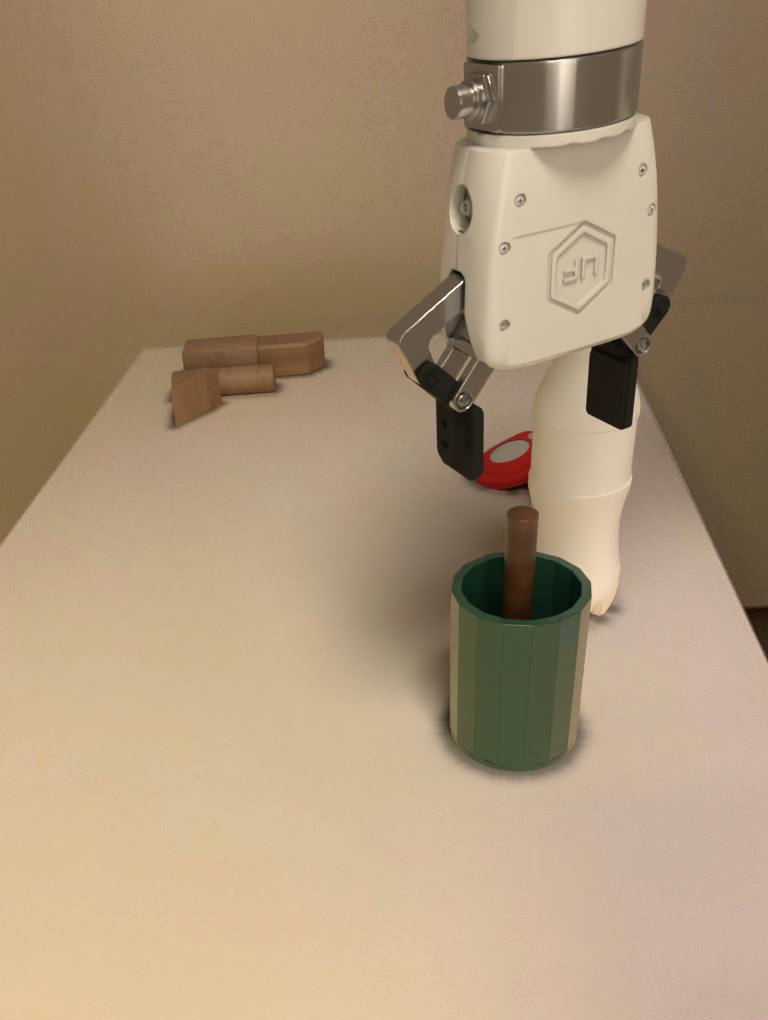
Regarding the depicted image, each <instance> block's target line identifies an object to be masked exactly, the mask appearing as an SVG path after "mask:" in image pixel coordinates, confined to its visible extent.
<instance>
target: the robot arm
mask: <svg viewBox="0 0 768 1020" xmlns="http://www.w3.org/2000/svg"><path fill="white" fill-rule="evenodd" d="M647 5H648V0H465V54H466V56H465V62H464V63H463V80H462V81H461V82H460V83H459V84H457V85H450V86H449V87H448V88H447V89H446V91H445V94H444V98H443V100H444V101H443V105H444V111H445V114H446V116H447V117H448V119H449V120H450V121H454V122H455V121H459V120H462V119H463V124H464V128H465V137H462V138H459V139H456V141H455V143H454V149H453V154H452V158H451V163H450V168H449V169H450V170H449V176H448V182H447V189H446V194H445V195H446V196H445V204H444V212H443V221H442V222H443V223H442V233H441V247H440V248H441V249H440V250H441V252H440V269H439V276H440V277H439V284H438V285H437V286H435V288H434V289H433V290H432V291H431V292H429V293H428V294H427V295H426V296H425V297H423V299H421V300H420V301H419V302H418V303H417V304H416V305H415V306H414V307H412V308H411V309H410V310H409V311H408V312H407V313H406V314H405V315H403V316H402V317H401V318H400V319H399V320H398V321H397V322H396V323H394V325H392V326H391V327H390V328H389V329H388V331H387V333H386V342H387V344H388V346H389V348H390V349H391V351H392V352H393V353H392V354H394V356H395V357H396V360H397V361H398V362H399V365H400V366H402V368H403V372H404V375H405V377H407V378H408V379H409V380H410V381H412V383H414V384H415V385H417V386H418V387H419V388H421V389H422V390H423V391H424V392H426V394H427V395H429V396H430V397H432V398H434V399H435V420H436V421H435V424H436V449H437V454H438V456H439V458H440V459H441V461H442V462H443V464H444V465H446V466H447V467H449V468H450V469H452V470H453V471H455V472H457V473H458V474H459V475H461V476H462V477H463V478H465V479H467V480H468V481H469V482H472V481H476V479H478V478H480V477H481V475H482V474H483V471H484V452H485V450H484V449H485V447H484V446H485V413H484V410H483V408H482V407H481V406H479V405H477V404H475V401H476V400H477V398H478V397H479V395H480V393H481V391H482V390H483V388H484V387H485V385H486V383H487V382H488V380H489V378H490V377H491V375H492V374H493V371H494V370H496V371H503V372H505V371H506V372H507V371H515V370H519V369H523V368H527V367H531V366H534V365H537V364H540V363H543V362H547V361H551V360H554V359H555V358H558V357H561V356H564V355H568V354H571V353H574V352H577V351H581V350H584V349H587V348H590V347H591V351H590V355H589V369H588V383H587V397H586V412H587V413H588V414H589V415H591V416H593V417H595V418H597V419H599V420H601V421H603V422H605V423H607V424H609V425H611V426H613V427H615V428H617V429H619V430H623V429H626V428H629V427H631V426H632V421H633V412H634V402H635V392H636V383H638V382H637V381H638V372H639V361H640V359H639V357H643V356H645V355H646V354H647V353H648V352H649V351H650V349H651V347H652V345H653V344H652V343H653V339H652V334H653V333H654V332H655V330H656V329H657V328H658V326H659V325H660V324H661V322H662V321H663V320H664V318H665V317H666V316H667V314H668V312H669V311H670V308H671V300H670V297H671V296H673V295H674V293H675V291H676V288H677V287H678V284H679V282H680V280H681V278H682V276H683V274H684V272H685V270H686V267H687V264H688V259H687V256H686V255H684V254H683V253H681V252H680V253H679V252H677V251H676V250H672V249H671V248H669V247H666V246H664V245H661V244H658V213H659V211H658V209H659V208H658V205H659V204H658V202H659V201H658V199H659V198H658V196H659V195H658V174H657V173H658V171H657V159H656V149H655V140H654V133H653V127H652V121H651V117H650V116H649V115H646V114H643V113H638V109H639V99H640V86H641V74H642V63H643V54H644V53H643V52H644V38H645V27H646V17H647ZM440 331H441V334H442V338H443V341H444V343H445V344H446V347H445V348H444V350H443V352H442V353H441V355H440V357H439V358H438V360H437V361H436V362H435V360H434V359H433V355H432V353H431V351H430V349H429V348H430V342H431V340H432V339H433V338H434V337H435V336H436V335H437V334H438V333H440ZM469 358H470V359H469ZM468 359H469V361H468V362H467V360H468ZM466 363H467V364H466ZM465 364H466V366H465ZM464 366H465V368H464ZM463 368H464V369H463ZM462 370H463V371H462ZM461 371H462V373H461ZM460 373H461V375H460V376H459V374H460ZM458 376H459V377H458ZM457 378H458V379H457Z"/></svg>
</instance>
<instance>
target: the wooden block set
mask: <svg viewBox="0 0 768 1020" xmlns="http://www.w3.org/2000/svg"><path fill="white" fill-rule="evenodd" d="M324 339H325V338H324V333H323V332H322V331H318V330H317V331H316V330H315V331H305V332H293V333H292V332H291V333H281V334H280V333H279V334H266V335H259V334H256V333H255V334H243V335H231V336H230V335H229V336H216V337H206V338H204V337H203V338H192V339H187V340H185V342H184V346H183V349H182V352H181V359H182V364H183V370H174V371H173V372H172V373H171V378H170V379H171V387H170V391H169V392H170V398H171V405H172V411H173V416H174V422H175V427H178V426H181V425H182V424H183V425H184V424H185V423H188V422H189V421H191V420H193V419H196V418H198V417H200V416H201V415H203V414H206V413H208V412H210V411H212V410H214V409H216V408H218V407H219V406H221V405H222V404H223V403H222V397H223V396H234V395H248V394H261V393H263V394H264V393H273V392H275V391H276V390H277V389H276V388H277V381H276V379H277V378H278V377H290V376H303V375H309V374H311V373H313V372H316V371H318V370H320V369H322V368H324V367H325V365H326V355H325V340H324Z"/></svg>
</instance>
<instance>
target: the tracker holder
mask: <svg viewBox="0 0 768 1020" xmlns="http://www.w3.org/2000/svg"><path fill="white" fill-rule="evenodd" d="M532 438H533V430H525V431H521V432H518V433H517V434H514V435H513V436H510V437H508V438H506V439H505V440H503V441H500V442H499V443H497V444H495V445H494V446H492V447H490V448H488V449H487V450H486V451H484V471H483V474H482V475H481V477H480V478H478V479H475V481H476V482H478V483H479V484H481V485H482V486H484V487H486V488H489V489H492V490H504V489H511V488H514V487H518V486H520V485H523V484H526V483H528V475H529V470H530V468H531V455H532Z"/></svg>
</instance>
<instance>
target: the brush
mask: <svg viewBox="0 0 768 1020" xmlns="http://www.w3.org/2000/svg"><path fill="white" fill-rule="evenodd" d="M538 520H539V513H538V511H537V510H536V509H535V508H533V507H532V506H529V505H517V506H513V507H511V508H509V509H508V510H507V512H506V521H505V542H504V543H505V544H504V551H505V561H504V583H503V605H502V618H504V619H515V620H532V609H533V594H534V580H535V565H536V550H537V535H538Z"/></svg>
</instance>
